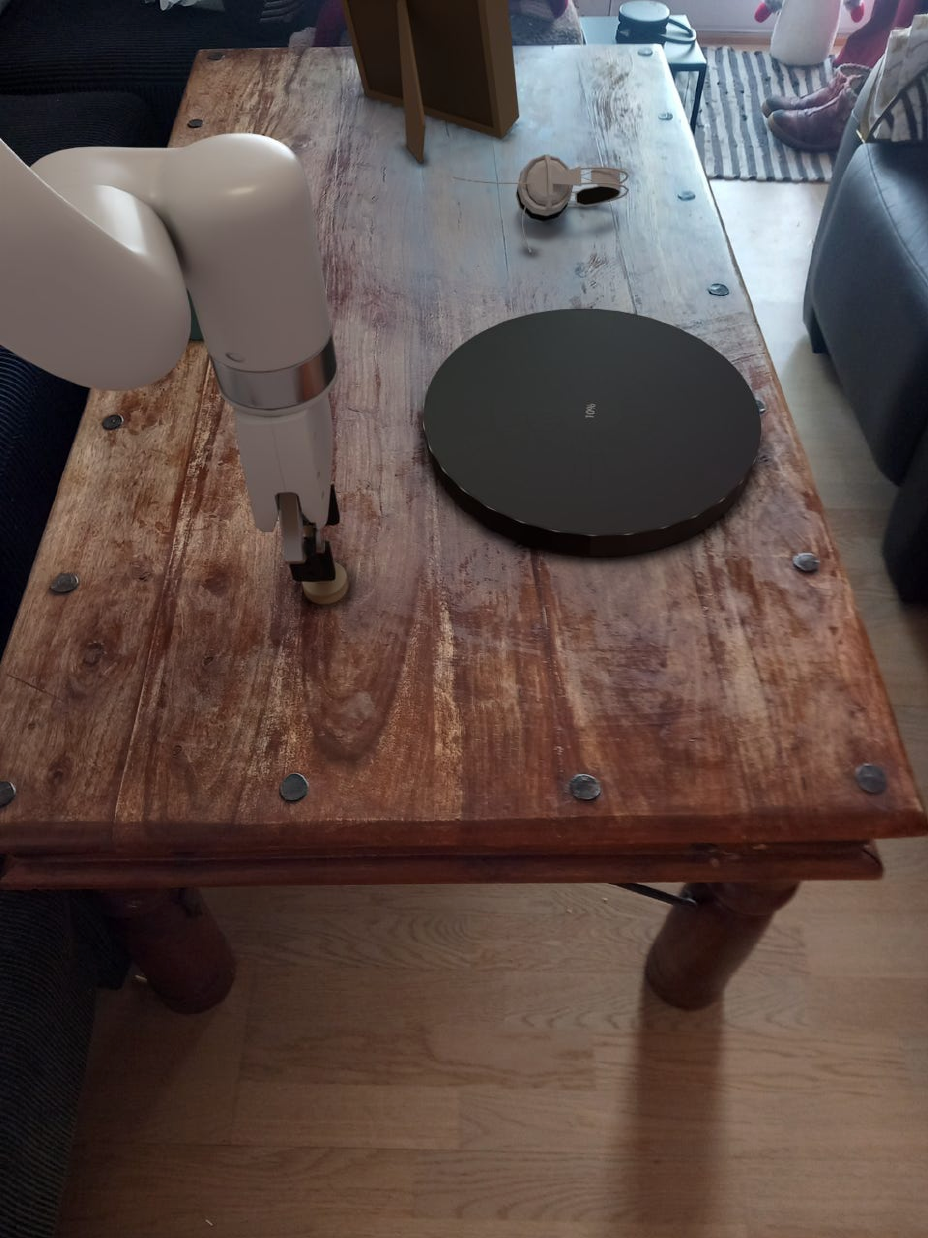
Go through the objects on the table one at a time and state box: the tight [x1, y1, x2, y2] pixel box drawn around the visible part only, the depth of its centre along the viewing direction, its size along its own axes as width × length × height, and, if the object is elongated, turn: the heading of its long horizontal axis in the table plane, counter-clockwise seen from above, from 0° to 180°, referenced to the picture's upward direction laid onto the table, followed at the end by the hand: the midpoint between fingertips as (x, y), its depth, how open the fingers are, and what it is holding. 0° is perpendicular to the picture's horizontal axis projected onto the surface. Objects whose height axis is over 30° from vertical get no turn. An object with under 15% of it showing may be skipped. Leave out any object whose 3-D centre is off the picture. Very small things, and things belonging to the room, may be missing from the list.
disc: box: [422, 307, 762, 558], centre depth 83 cm, size 30×30×3 cm
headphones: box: [452, 154, 630, 254], centre depth 101 cm, size 8×10×20 cm
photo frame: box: [340, 0, 520, 163], centre depth 108 cm, size 15×22×25 cm
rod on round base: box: [301, 526, 349, 605], centre depth 71 cm, size 4×4×10 cm
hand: (317, 548), depth 71 cm, fingers open, 4 cm apart
